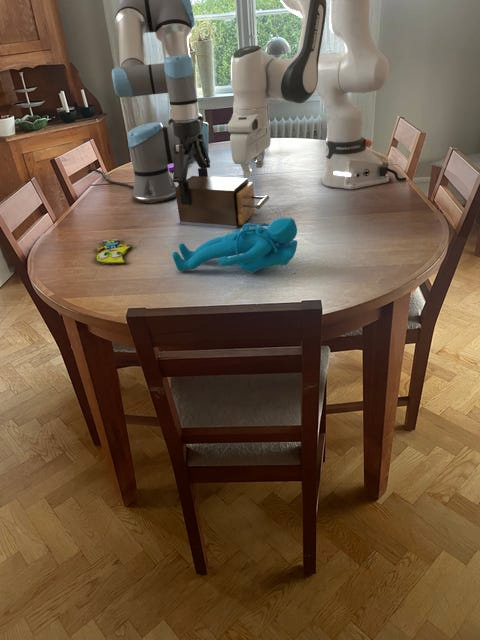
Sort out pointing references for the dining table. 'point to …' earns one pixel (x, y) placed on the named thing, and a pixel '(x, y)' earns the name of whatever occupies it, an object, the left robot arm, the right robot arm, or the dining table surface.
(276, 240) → the toy
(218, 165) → the dining table surface
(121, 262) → the toy
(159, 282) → the dining table surface
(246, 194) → the drawer
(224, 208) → the cabinet
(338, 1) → the right robot arm
